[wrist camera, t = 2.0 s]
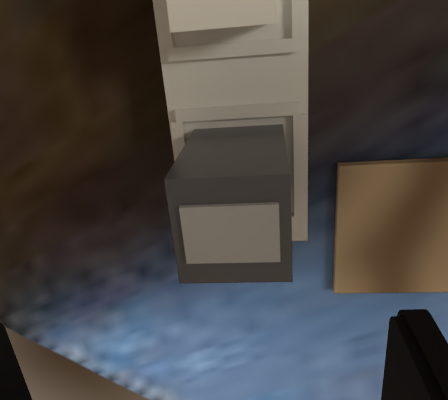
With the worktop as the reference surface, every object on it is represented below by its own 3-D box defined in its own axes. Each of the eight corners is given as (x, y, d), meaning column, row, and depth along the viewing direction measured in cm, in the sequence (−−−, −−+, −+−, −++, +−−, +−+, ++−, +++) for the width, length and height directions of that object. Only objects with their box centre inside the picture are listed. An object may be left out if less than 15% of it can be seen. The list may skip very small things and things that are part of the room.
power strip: (150, -128, 19) (94, -198, 13) (302, -148, 18) (322, -233, 12) (193, 219, 27) (171, 284, 20) (303, 216, 26) (315, 282, 19)
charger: (194, 129, 21) (162, 181, 14) (282, 124, 20) (291, 175, 14) (203, 208, 23) (178, 286, 16) (284, 205, 22) (292, 284, 16)
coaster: (500, 155, 23) (506, 158, 23) (473, 286, 27) (477, 291, 26) (337, 162, 24) (339, 166, 24) (332, 287, 28) (334, 293, 27)
